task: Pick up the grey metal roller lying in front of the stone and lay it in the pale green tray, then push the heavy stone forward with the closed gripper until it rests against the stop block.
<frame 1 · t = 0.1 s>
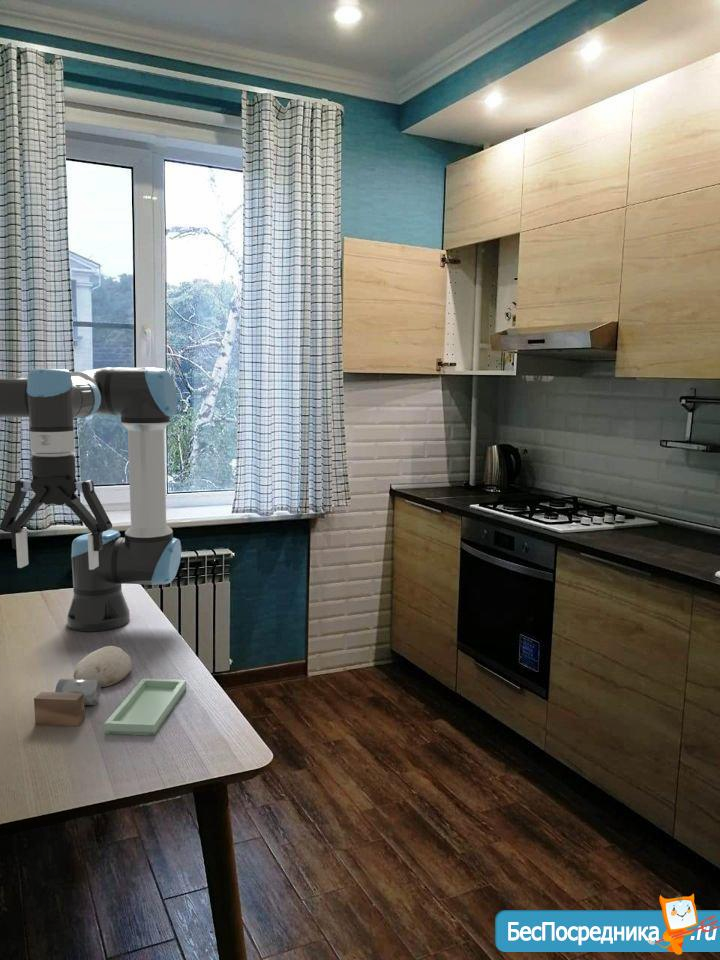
hand: (58, 567, 144), 28 cm above the table, fingers open, 13 cm apart
stone: (104, 678, 163), on the table
tray: (148, 710, 147), on the table
roller: (78, 703, 150), on the table
stop block: (60, 721, 142), on the table
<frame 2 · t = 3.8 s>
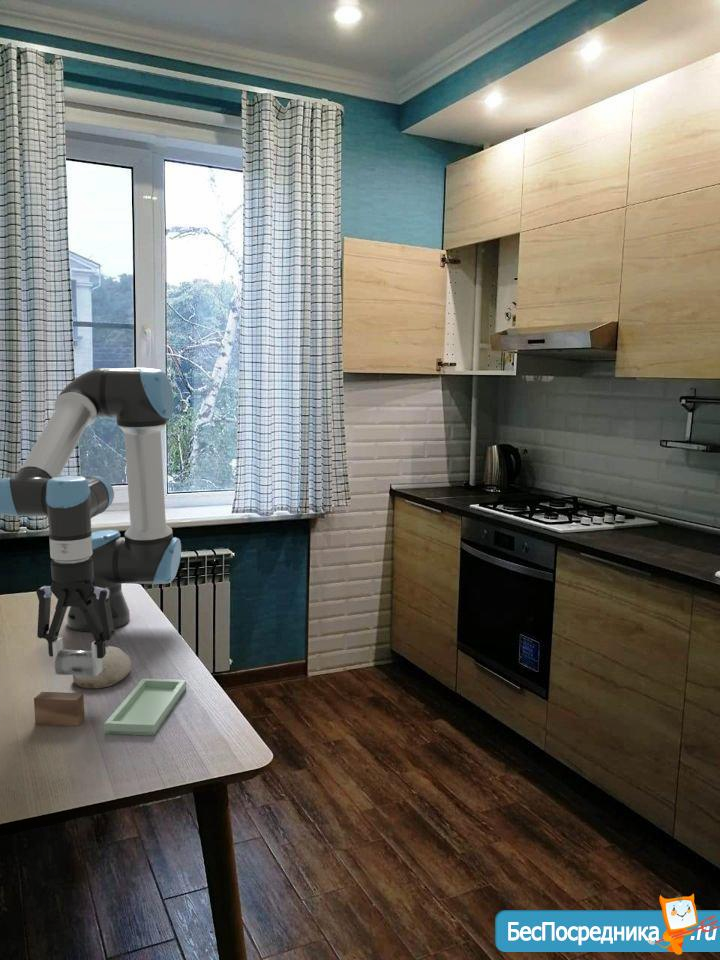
hand: (78, 672, 150), 6 cm above the table, fingers closed on roller, 7 cm apart
roller: (78, 674, 150), point 6 cm above the table, touching gripper
everything else where it was.
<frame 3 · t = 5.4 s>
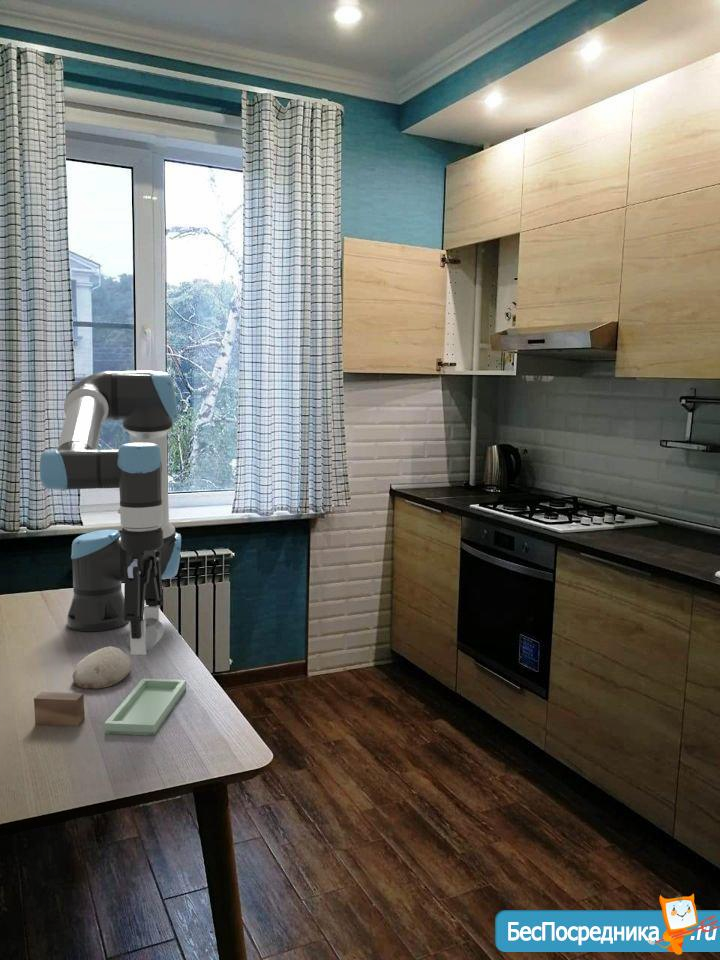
hand: (145, 646, 145), 13 cm above the table, fingers closed on roller, 7 cm apart
roller: (145, 648, 145), point 12 cm above the table, touching gripper
everything else where it was.
when the fingers open (2 cm above the table, at t = 7.3 s): roller stays where it is, resting on tray.
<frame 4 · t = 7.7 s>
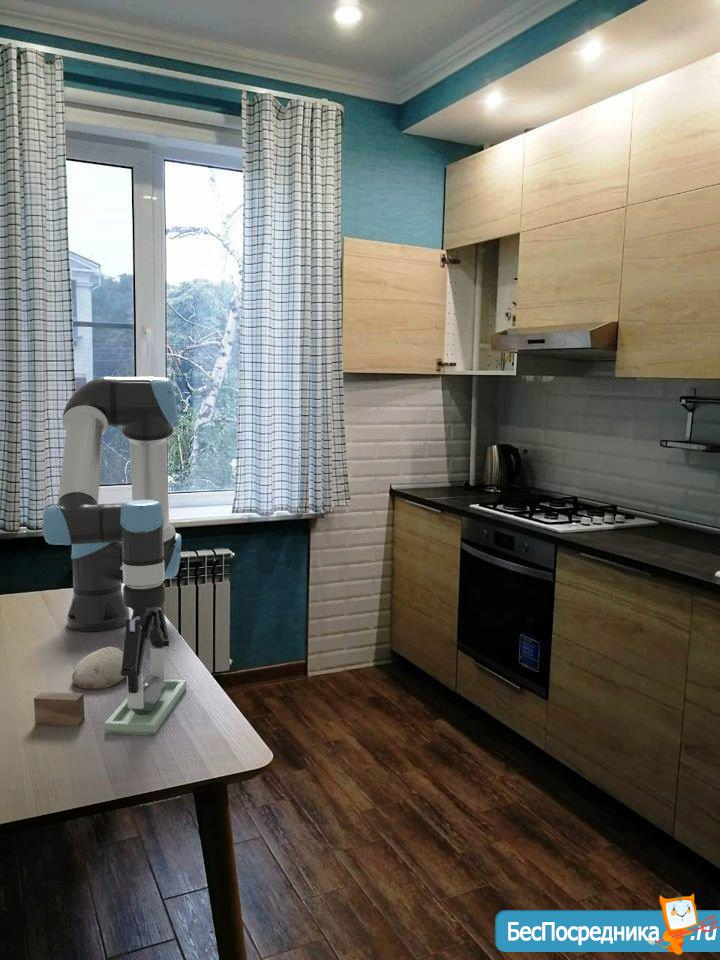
hand: (147, 693, 147), 3 cm above the table, fingers open, 12 cm apart
roller: (147, 706, 147), point 1 cm above the table, touching tray
everything else where it was.
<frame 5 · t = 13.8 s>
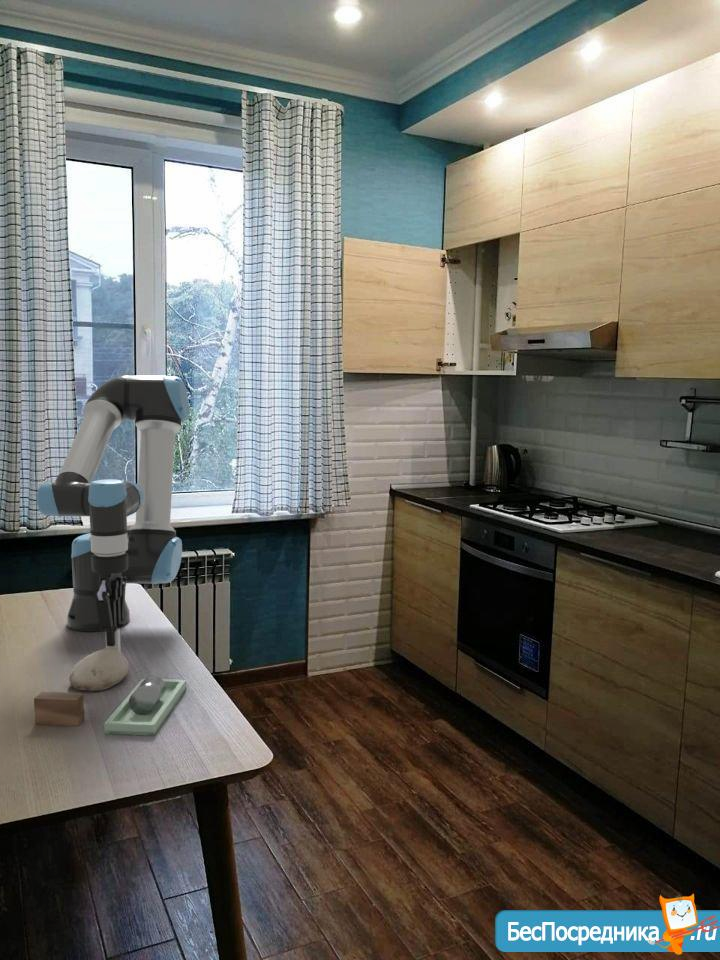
hand: (113, 658, 168), 2 cm above the table, fingers closed
stone: (101, 681, 161), on the table, touching gripper
everything else where it was.
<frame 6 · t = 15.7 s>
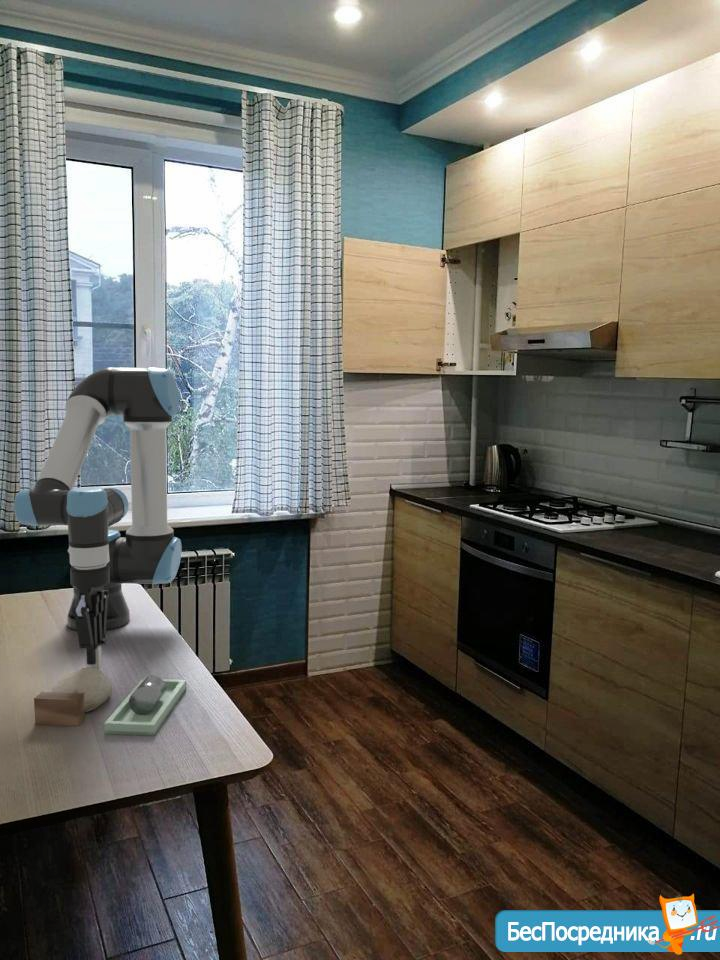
hand: (94, 677, 158), 2 cm above the table, fingers closed
stone: (82, 702, 151), on the table, touching gripper
everything else where it was.
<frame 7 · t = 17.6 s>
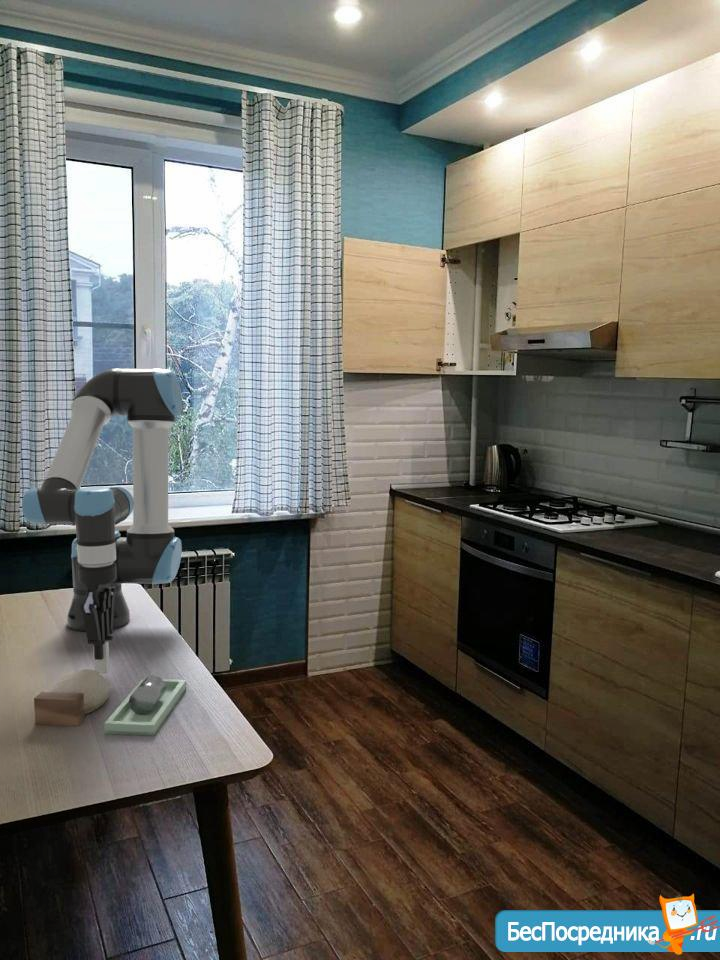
hand: (102, 671, 162), 2 cm above the table, fingers closed
stone: (80, 705, 150), on the table
everything else where it was.
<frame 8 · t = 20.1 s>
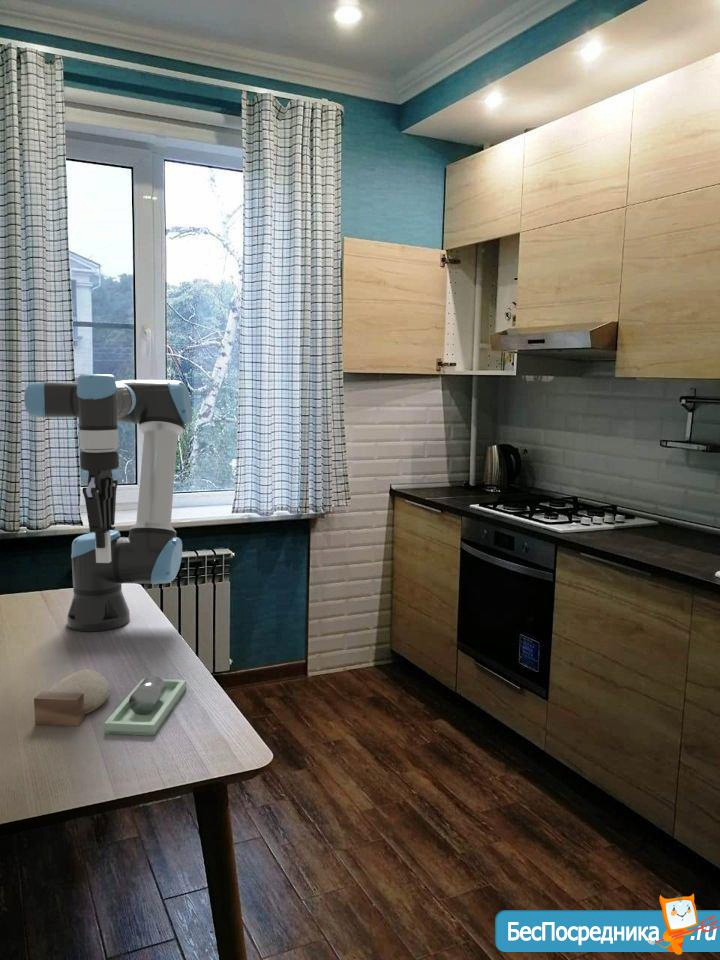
hand: (103, 561, 161), 24 cm above the table, fingers closed
nothing on the table moved.
at the end: stone inside the target area (1.4 cm from its centre), on the table; stone moved 13.1 cm from its start; roller inside the target area on the tray (0.1 cm from its centre), point 0.6 cm above the tray's base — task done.
